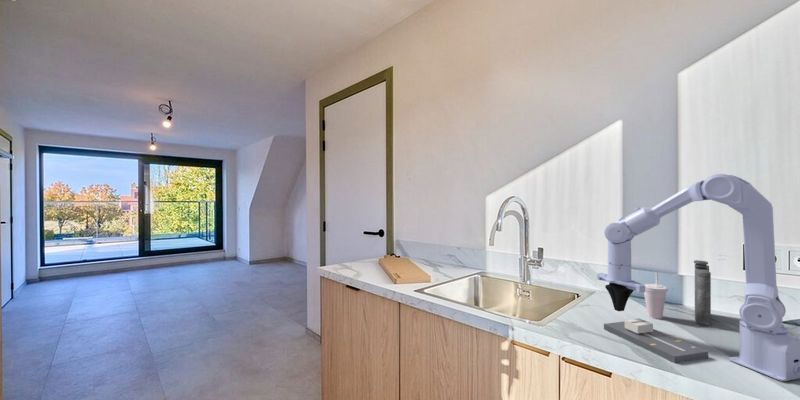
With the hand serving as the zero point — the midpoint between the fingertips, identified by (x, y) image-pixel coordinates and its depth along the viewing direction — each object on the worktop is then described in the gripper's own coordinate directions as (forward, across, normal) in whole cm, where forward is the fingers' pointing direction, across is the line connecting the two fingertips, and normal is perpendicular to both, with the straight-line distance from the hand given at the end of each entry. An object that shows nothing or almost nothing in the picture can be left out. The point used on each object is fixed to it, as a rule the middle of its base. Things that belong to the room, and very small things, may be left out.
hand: (619, 310), depth 96 cm
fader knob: (+3, +6, 0) cm, 7 cm away
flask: (+5, +1, +30) cm, 30 cm away
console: (+5, +10, 0) cm, 11 cm away
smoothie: (+5, -4, +18) cm, 19 cm away
